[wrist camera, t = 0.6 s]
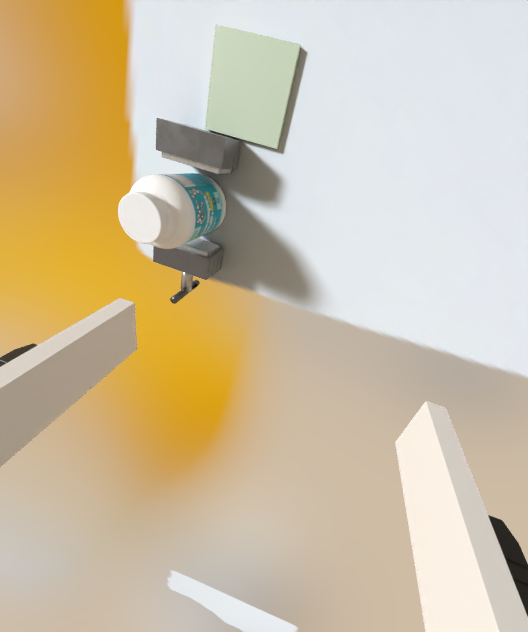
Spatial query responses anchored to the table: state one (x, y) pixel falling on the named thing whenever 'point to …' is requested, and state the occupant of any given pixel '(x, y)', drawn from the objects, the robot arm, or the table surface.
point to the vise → (206, 155)
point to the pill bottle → (172, 209)
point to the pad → (250, 85)
